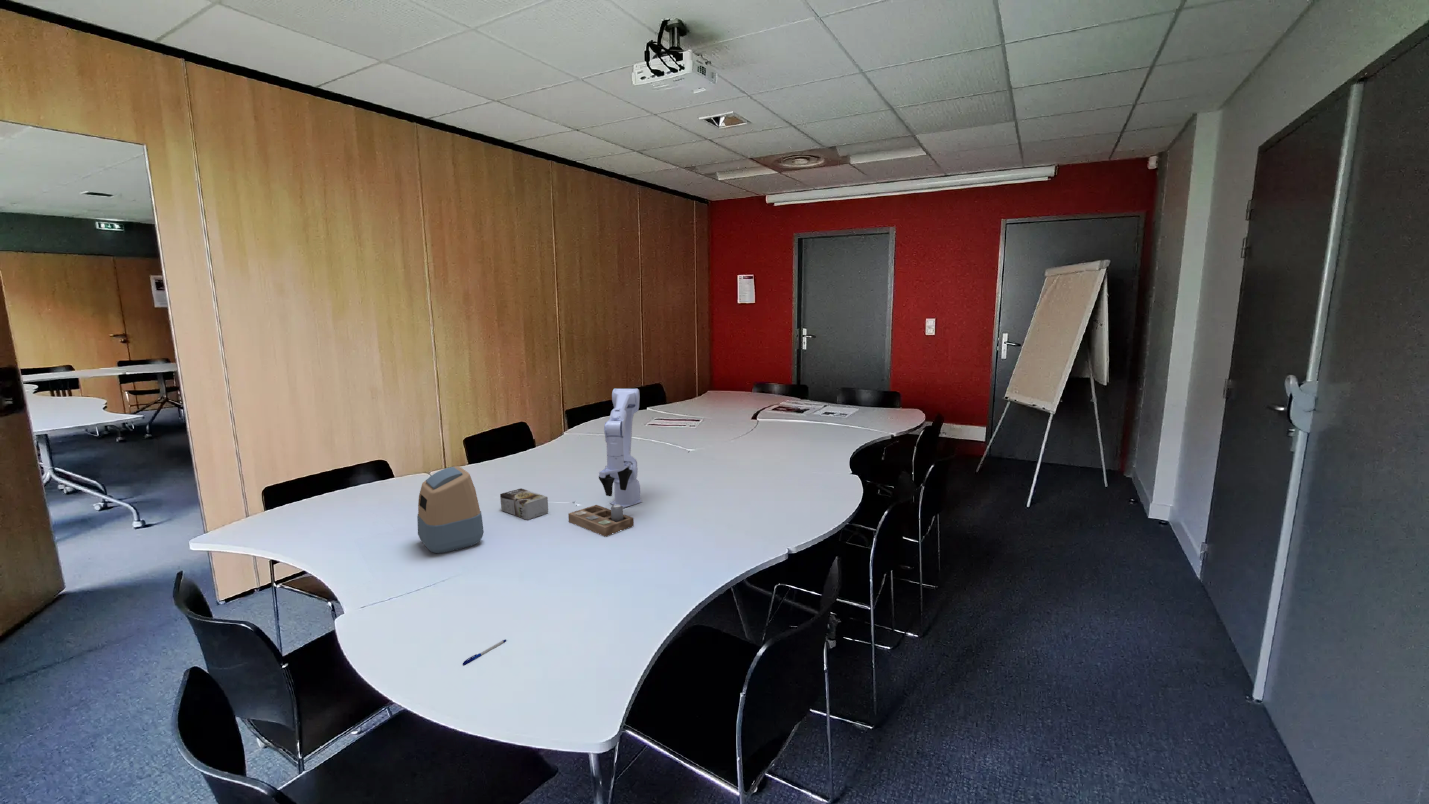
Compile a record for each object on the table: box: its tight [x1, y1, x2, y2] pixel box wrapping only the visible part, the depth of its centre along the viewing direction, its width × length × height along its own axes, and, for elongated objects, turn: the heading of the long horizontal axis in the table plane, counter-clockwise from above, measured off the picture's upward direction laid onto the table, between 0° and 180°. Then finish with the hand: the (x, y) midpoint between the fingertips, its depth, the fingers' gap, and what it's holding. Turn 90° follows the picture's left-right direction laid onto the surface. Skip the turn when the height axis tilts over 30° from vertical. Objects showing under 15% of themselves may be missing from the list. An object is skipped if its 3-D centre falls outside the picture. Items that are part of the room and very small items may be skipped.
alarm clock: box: [416, 465, 485, 554], centre depth 177 cm, size 17×17×23 cm
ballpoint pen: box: [462, 639, 507, 666], centre depth 122 cm, size 10×1×1 cm, turn 149°
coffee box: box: [499, 488, 549, 521], centre depth 206 cm, size 9×6×16 cm
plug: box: [610, 504, 624, 522], centre depth 192 cm, size 4×4×8 cm
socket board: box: [568, 504, 635, 537], centre depth 195 cm, size 12×20×3 cm, turn 49°
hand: (616, 492), depth 199 cm, fingers open, 7 cm apart
